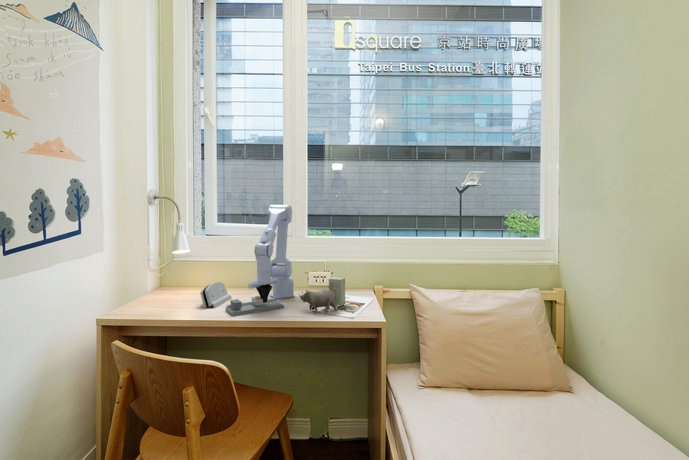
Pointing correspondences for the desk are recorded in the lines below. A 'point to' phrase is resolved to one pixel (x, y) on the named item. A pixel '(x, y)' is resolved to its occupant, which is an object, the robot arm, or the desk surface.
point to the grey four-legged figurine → (319, 299)
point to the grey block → (257, 300)
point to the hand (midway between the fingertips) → (264, 302)
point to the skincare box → (338, 289)
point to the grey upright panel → (214, 295)
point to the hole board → (251, 307)
